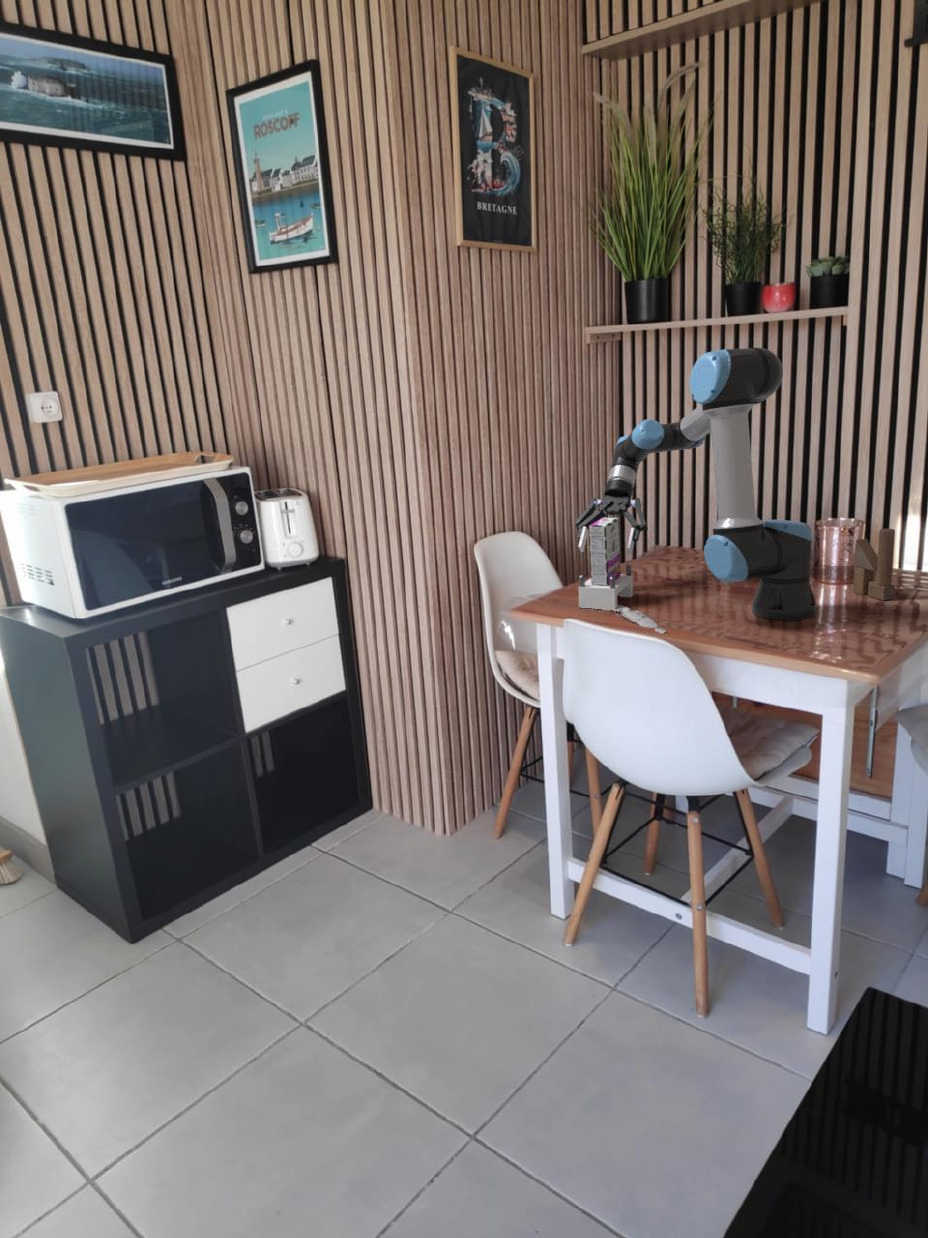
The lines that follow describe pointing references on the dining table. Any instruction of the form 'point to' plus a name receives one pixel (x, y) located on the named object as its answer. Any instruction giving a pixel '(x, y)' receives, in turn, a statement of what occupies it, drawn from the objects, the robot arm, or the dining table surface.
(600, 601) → the peg shelf
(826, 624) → the dining table surface
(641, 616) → the driftwood
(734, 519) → the robot arm
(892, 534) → the wooden block stack
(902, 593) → the dining table surface
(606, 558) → the candy bar box
